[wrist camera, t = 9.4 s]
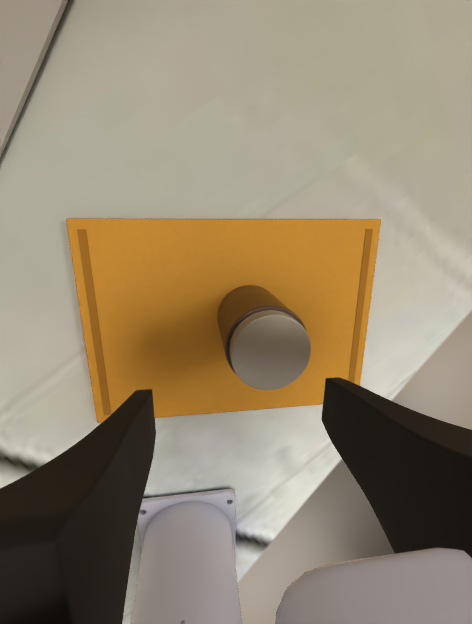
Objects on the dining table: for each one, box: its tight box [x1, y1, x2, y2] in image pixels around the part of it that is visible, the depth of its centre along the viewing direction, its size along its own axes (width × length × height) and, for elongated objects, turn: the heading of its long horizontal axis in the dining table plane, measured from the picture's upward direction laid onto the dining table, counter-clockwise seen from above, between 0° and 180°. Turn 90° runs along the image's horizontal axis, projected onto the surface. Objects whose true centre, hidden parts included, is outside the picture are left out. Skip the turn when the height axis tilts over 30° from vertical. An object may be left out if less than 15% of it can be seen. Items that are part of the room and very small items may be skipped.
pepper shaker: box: [217, 285, 311, 390], centre depth 17 cm, size 4×4×6 cm
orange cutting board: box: [66, 219, 381, 422], centre depth 21 cm, size 14×20×1 cm
